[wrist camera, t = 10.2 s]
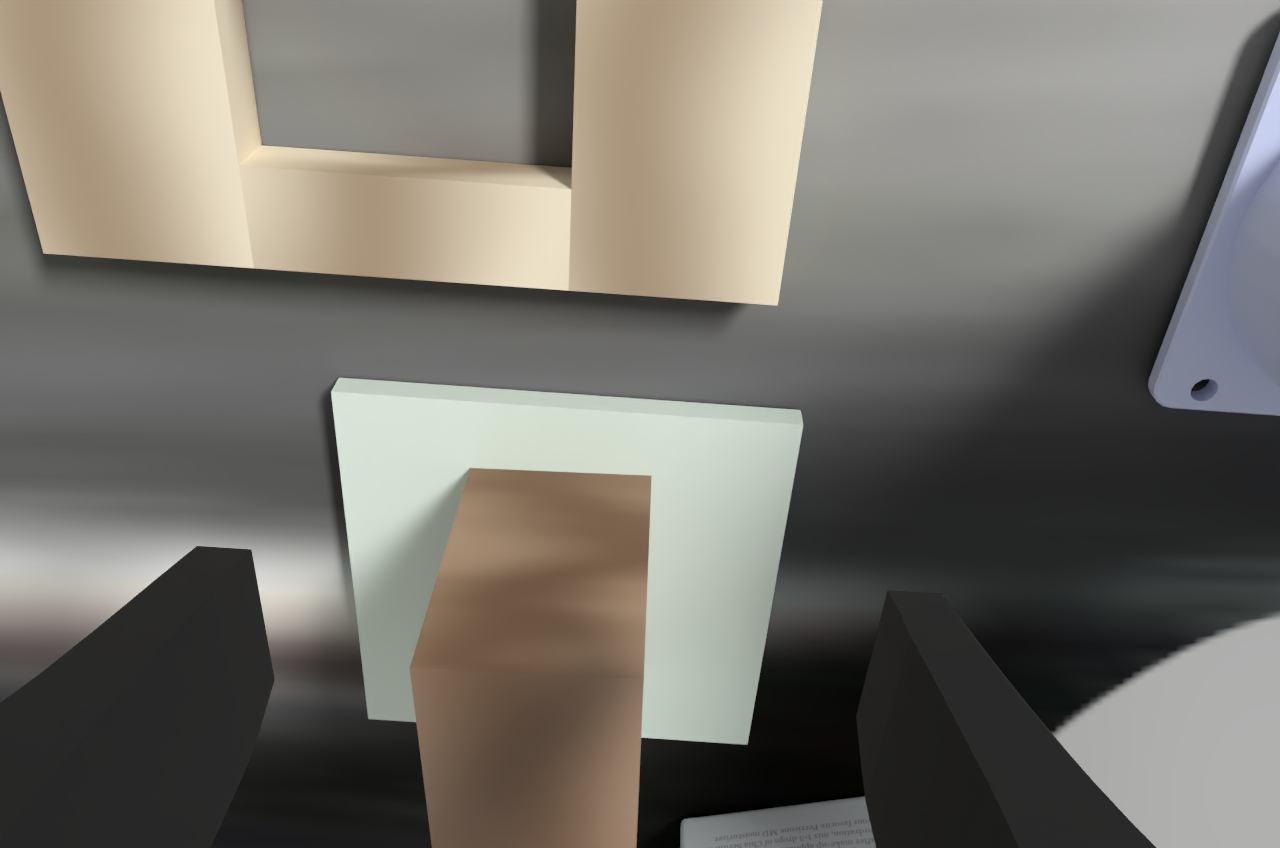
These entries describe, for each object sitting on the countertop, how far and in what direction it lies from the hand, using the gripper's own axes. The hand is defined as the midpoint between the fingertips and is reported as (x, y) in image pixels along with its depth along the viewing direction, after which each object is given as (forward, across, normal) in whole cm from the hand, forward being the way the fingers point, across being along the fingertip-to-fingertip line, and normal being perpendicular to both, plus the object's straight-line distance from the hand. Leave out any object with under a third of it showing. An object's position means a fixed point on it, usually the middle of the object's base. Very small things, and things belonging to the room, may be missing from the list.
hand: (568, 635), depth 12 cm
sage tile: (+10, +1, +8) cm, 13 cm away
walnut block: (+10, +1, +8) cm, 12 cm away
